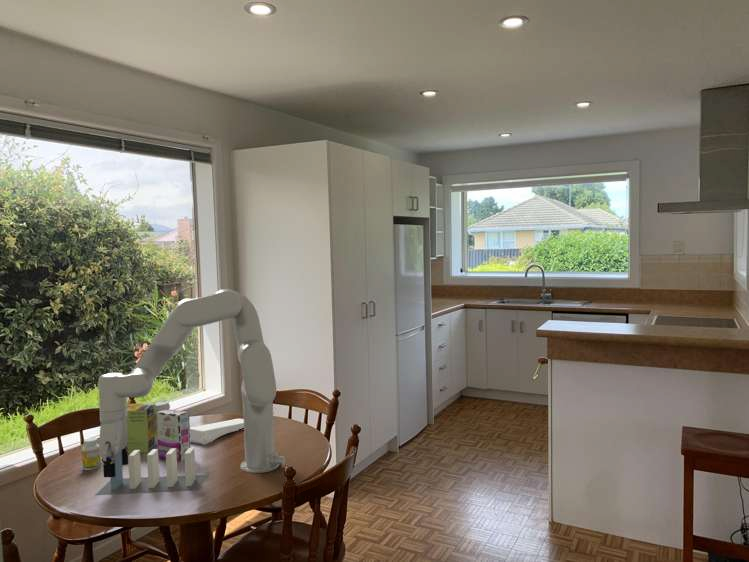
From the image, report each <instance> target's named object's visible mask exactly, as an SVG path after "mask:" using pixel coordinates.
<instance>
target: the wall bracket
mask: <svg viewBox="0 0 749 562" xmlns="http://www.w3.org/2000/svg"><path fill="white" fill-rule="evenodd" d="M242 428H244V418H234V419H230V420H223V421H218V422H212V423H207V424H201V425H196V426H192V427H191V426H190V443H194V444H198V445H207V444H209V442H210V443H212V442H213V441H215V440H216V439H218V438H220V437H221V436H224V435H227V434H229V433H233V432H237V431H240V430H239V429H242ZM242 430H243V429H242Z"/></svg>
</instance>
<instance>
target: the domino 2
mask: <svg viewBox="0 0 749 562" xmlns="http://www.w3.org/2000/svg"><path fill="white" fill-rule="evenodd" d="M146 460H147V461H146V462H147V463H146V464H147V477H148V486H149V488H154V487H155V486H156V485H157V483H158V482H159V477H160V461H159V458H158V448H154V449H153V448H152V449H151V450H150V451H149V452H148V453H147V454H146Z"/></svg>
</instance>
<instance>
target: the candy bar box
mask: <svg viewBox="0 0 749 562" xmlns="http://www.w3.org/2000/svg"><path fill="white" fill-rule="evenodd" d="M156 416H157V449H158V458H159V459H160V460H165V461H166V453H167V452H168V451H169V450H170V449H171V448H176V454H177V462H179V463H180V462H183V461H184V462H185V455H184V453H185V452H186V451H187V450H188V448H191V442H190V428H191V426H190V412H189V411H185V410H177V409H176V410H175V409H171V408H169V409H165V410H162V411H159V412H156Z"/></svg>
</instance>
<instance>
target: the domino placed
mask: <svg viewBox="0 0 749 562" xmlns="http://www.w3.org/2000/svg"><path fill="white" fill-rule="evenodd" d="M108 457H109V458H110V459H111V456H108ZM114 463H115V473H116V476H115V477H109V478H110V480H111V490H114V489H117V488H118V487H119V486H120V485H121V484H122V483H123V478H124V476H123V472H124V471H123V465H122V451H120V452H119V453H118V454H117V455H115V458H114Z"/></svg>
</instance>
